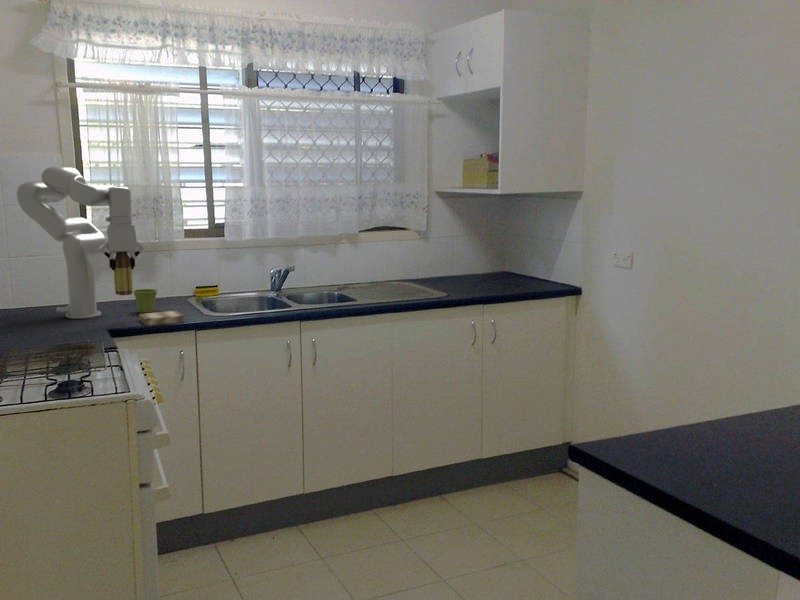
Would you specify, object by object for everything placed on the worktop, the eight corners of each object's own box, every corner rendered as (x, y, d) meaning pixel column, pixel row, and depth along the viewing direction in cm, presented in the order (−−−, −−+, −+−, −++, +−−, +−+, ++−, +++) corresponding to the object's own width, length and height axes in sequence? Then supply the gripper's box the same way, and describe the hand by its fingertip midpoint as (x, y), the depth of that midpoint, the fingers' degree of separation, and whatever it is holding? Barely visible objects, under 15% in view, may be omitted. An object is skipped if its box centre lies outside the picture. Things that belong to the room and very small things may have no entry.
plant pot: (147, 308, 305) (146, 287, 303) (163, 311, 300) (162, 289, 298) (128, 312, 297) (127, 290, 295) (145, 314, 292) (143, 293, 290)
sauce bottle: (126, 292, 282) (125, 240, 279) (136, 294, 279) (135, 241, 275) (110, 294, 277) (109, 240, 274) (119, 296, 274) (118, 242, 270)
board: (145, 325, 271) (145, 318, 271) (139, 320, 281) (139, 313, 280) (184, 322, 278) (184, 315, 278) (177, 317, 288) (176, 310, 287)
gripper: (97, 221, 266) (99, 271, 269) (147, 221, 274) (148, 269, 277) (93, 220, 272) (96, 269, 275) (142, 219, 281) (144, 267, 284)
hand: (122, 268), depth 276 cm, fingers closed on sauce bottle, 6 cm apart
